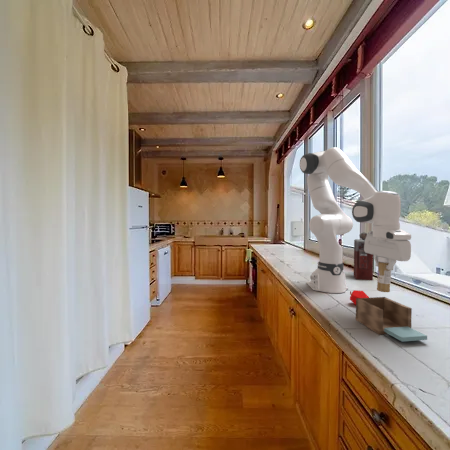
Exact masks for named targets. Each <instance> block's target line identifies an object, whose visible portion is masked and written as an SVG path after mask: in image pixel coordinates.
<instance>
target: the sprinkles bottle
mask: <svg viewBox="0 0 450 450" xmlns="http://www.w3.org/2000/svg"><path fill="white" fill-rule="evenodd" d="M378 261H379V266H378V267H377V283H376V284H377V285H376V291H378V292H381V293H390V292H391V280H392V270H391V271H390V270H387V269H386V268H387V267H386V265H388V264H389V262H390V261H389V258H385V257H381V256H379V257H378Z"/></svg>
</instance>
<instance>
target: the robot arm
mask: <svg viewBox="0 0 450 450" xmlns="http://www.w3.org/2000/svg"><path fill="white" fill-rule="evenodd" d="M299 168H300V171H301V172H302V174H305V175H308V176H307V179H306V181H307V183H306V184H307V188H308V193H309V196H310V199H311V202H312V207H313V208H314V209H315V210H317V212H319V213H320V214H318V215H314V216H312V217H311V218H310V219H309V230H310V232H311V233H312V234H313V235H314V236H315V238H316V240H317V242H318V243H317V244H318V247H319V248H318V249H319V253H318V254H319V261H318V262H317V267H316V269H315V270H314V271H313V272H311V275H310V276H309V277H310V280H307V281H306V284H307V285H308V287H310V288H311V289H312V291H319V292H323V293H329V294H341V293H345V292H347V291H346V290H348V289H349V287H348V286H347V283H346V282H347V281H346V273H345V272H344V267H345V266H344V262H343V257H344V256H343V252H344V251H343V249H344V248H343V247H342V245H341V244H340V243H339V241H338V239H337V236H342V235H346V234H348V233H349V232H350V231H352V229H353V228H354V227H353V226H354V223H353V219H354V220H355V221H356V222H357V223H361V224H372V230H370V231H368V233H367V237H366V239H365V244H364V251H365V253H369V254H373V260H374V261H375V266H376V267H377V268H378V266H379V261H378V257H379V256H381V257H385V258H389V261H390V262H389V264H388V265H386V267H387V268H386V269H387V270H390V271H391V272H392V271H394V266H395V265H396V263H397V261H398V262H409V260H410V259H411V256H412V245H411V241H410V240H412V234H410V232H407V231H405V230H404V229H402V228H401V224H400V217H401V213H402V212H401V211H402V210H401V209H402V204H401V203H402V202H401V196H400V194H399V193H398V192H397V191H396V192H395V191H392V190H391V191H389V190H378V189H377V187H375V186H374V184H372V182H371V181H370V180H369V178H367V177H366V176H365V175H364V174H362V172H361V171H359V170H358V168H357V167H356V166H355V165H354V164H353V162H352V161H351V159H350V158H349V157H348V155H346V153H345V152H343V151H342V150H341V149H340V148H339V147H335V146H334V147H330V148H328V149H326V150H322V151H317V152H308V153H305V154H303V155H302V156H301V157H300V159H299ZM329 179H330V180H331V181H332V182H333V183H334V184H336V185H337V186H340V187H344V188H348V189H350V190H353V191H355V192H356V193H358V194H360V196H362V198H363V199H362V200H358V201H356V202H355V203H354V204H353V206H352V209H351V215H352V218H353V219H352V218H351V217H350V216H349V215H347V214H346V212H344V210H343V209H342V208H341V206H340V205H339V203H338V202H337V200H336V198H335V195H334V193H333V190H332V187H331V185H330V182H329Z"/></svg>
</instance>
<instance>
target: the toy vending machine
mask: <svg viewBox="0 0 450 450" xmlns="http://www.w3.org/2000/svg"><path fill="white" fill-rule="evenodd" d="M367 234H368V233H366V232H363V231H362V232H360V234H359V235H358V236H359V238H360V239H358V238H357V239H354V240H353V278H354V279H355V280H358V281H359V280H360V281H363V280H364V281H374V255H373V254H369V253H365V251H364V244H365V239H366V237H367Z"/></svg>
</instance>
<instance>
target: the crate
mask: <svg viewBox="0 0 450 450" xmlns="http://www.w3.org/2000/svg"><path fill="white" fill-rule="evenodd" d="M412 310H413V309H412V308H411V307H410V306H407V305H405V304H402V303H400V302H397V301H395V300H392V299H390V298H389V297H385V296H379V297H377V296H376V297H369V298H356V305H355V321H357V322H358V323H360V324H362V325H363V326H365V327H367V328H368V329H370V330H371V331H373V332H374V333H376V334H377V335H388V334H387V333H386V332H384V328H392V327H407V326H408V327H410V328H412Z"/></svg>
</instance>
